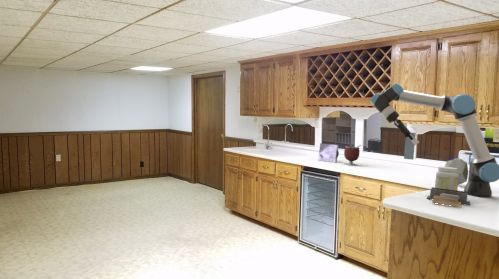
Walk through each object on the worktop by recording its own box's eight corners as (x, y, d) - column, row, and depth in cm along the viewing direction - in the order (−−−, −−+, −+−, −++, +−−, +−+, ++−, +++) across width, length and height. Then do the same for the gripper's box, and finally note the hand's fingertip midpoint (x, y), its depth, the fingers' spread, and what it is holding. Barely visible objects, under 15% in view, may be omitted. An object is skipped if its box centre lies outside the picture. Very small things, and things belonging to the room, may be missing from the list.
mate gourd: (342, 165, 358) (344, 143, 357) (343, 163, 371) (345, 143, 370) (359, 166, 353) (361, 145, 352) (360, 165, 367) (362, 144, 365)
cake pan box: (338, 162, 378) (339, 144, 376) (336, 163, 373) (337, 145, 372) (319, 160, 388) (321, 143, 387) (318, 160, 383) (319, 143, 382)
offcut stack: (433, 201, 210) (434, 191, 209) (460, 205, 203) (461, 195, 203) (432, 203, 203) (432, 193, 203) (460, 207, 197) (461, 197, 196)
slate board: (404, 158, 234) (406, 132, 233) (413, 159, 231) (415, 132, 230) (403, 158, 231) (406, 132, 230) (412, 159, 229) (415, 132, 228)
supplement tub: (449, 193, 237) (452, 166, 236) (461, 198, 224) (464, 169, 223) (430, 192, 236) (432, 165, 235) (440, 197, 224) (443, 168, 223)
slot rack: (428, 196, 222) (429, 186, 222) (469, 203, 211) (470, 192, 211) (426, 198, 216) (427, 188, 215) (469, 205, 205) (470, 194, 205)
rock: (440, 181, 287) (442, 155, 286) (448, 182, 287) (450, 155, 286) (460, 188, 261) (463, 159, 259) (469, 189, 261) (472, 159, 260)
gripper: (388, 118, 245) (413, 147, 237) (382, 118, 231) (409, 148, 223) (397, 111, 242) (423, 139, 234) (392, 109, 228) (420, 140, 220)
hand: (417, 143), depth 229 cm, fingers closed on slate board, 3 cm apart
